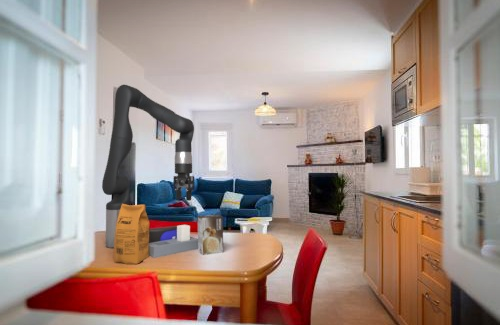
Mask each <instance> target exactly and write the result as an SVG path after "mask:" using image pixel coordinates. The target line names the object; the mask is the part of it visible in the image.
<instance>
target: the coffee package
mask: <svg viewBox="0 0 500 325" xmlns="http://www.w3.org/2000/svg"><path fill="white" fill-rule="evenodd" d="M146 208H147V205H146V204H134V205H133V204H132V205H129V204H128V205H126V204H122V205H121V209H120V212H119V216H118V219H117V224H116V229H115V239H114V253H113V256H114V257H113V258H114V261H113V262H114V263H122V264H124V265H136V264H137V265H139V263H141V262H142V261H144V260H147V259H148V258H149V257H150V256H149V229H150V220H149V217H148V215H147V214H148V213H147V212H146Z"/></svg>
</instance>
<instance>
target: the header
mask: <svg viewBox="0 0 500 325" xmlns="http://www.w3.org/2000/svg"><path fill="white" fill-rule="evenodd" d="M196 250H198V237H192V236H190V240H187V241H182V242H181V241H178V240H177V238H176V239H170V240H164V241H158V242H152V243H149V257H151V258H153V259H156V258H162V257H166V256H171V255H177V254H181V253H186V252H190V251H196Z"/></svg>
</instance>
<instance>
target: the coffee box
mask: <svg viewBox="0 0 500 325" xmlns="http://www.w3.org/2000/svg"><path fill="white" fill-rule="evenodd" d="M223 221H224V220H223V215H220V214H207V215H197V239H198V249H197V252H198V253H199V254H201V255H202V256H208V255H215V254H223V253H224V229H223V228H224V226H223V225H224V222H223Z"/></svg>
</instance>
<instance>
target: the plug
mask: <svg viewBox="0 0 500 325" xmlns="http://www.w3.org/2000/svg"><path fill="white" fill-rule="evenodd" d="M176 226H177V240H178V241H181V242H182V241H187V240H190V237H191V225H188V224H181V225H180V224H179V225H176Z"/></svg>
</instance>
